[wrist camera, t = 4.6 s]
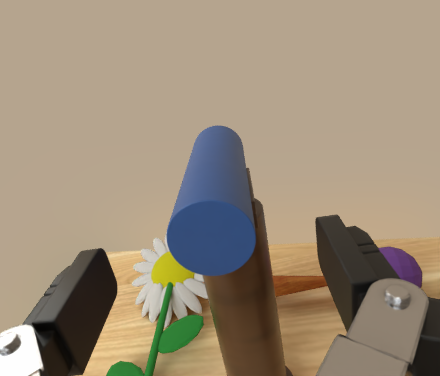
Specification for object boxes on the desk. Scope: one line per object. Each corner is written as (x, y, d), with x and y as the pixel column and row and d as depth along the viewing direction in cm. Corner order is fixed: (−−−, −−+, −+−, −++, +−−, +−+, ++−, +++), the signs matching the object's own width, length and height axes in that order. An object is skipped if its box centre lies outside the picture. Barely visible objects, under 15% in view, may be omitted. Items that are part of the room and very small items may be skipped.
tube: (199, 176, 25) (189, 130, 24) (246, 168, 25) (239, 121, 23) (177, 281, 14) (156, 207, 13) (261, 270, 14) (249, 193, 12)
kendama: (237, 256, 42) (407, 235, 38) (247, 297, 44) (412, 282, 39) (230, 280, 37) (429, 259, 32) (241, 326, 38) (434, 312, 33)
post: (226, 367, 33) (178, 176, 24) (290, 360, 32) (264, 162, 24) (225, 438, 27) (163, 218, 19) (304, 431, 26) (277, 201, 18)
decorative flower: (210, 545, 23) (228, 248, 48) (190, 523, 20) (220, 222, 46) (50, 541, 25) (147, 259, 50) (14, 521, 23) (136, 235, 48)
